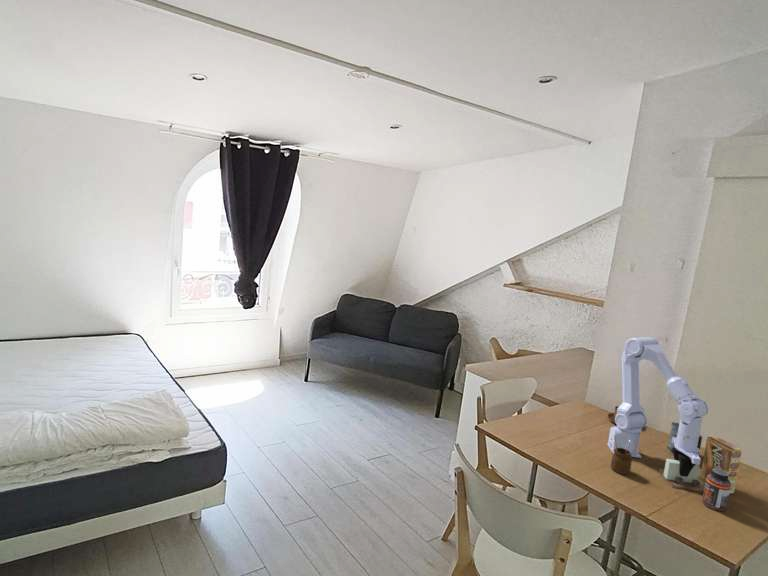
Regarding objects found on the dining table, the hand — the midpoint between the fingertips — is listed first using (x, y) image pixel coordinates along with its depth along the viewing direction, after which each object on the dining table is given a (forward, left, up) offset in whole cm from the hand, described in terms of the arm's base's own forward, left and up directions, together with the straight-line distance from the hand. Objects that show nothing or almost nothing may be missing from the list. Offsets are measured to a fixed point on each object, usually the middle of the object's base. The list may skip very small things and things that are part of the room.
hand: (681, 473), depth 144 cm
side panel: (+2, +1, -3) cm, 4 cm away
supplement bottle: (+4, -11, -3) cm, 13 cm away
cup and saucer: (-3, +45, -4) cm, 45 cm away
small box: (+10, +21, -3) cm, 24 cm away
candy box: (+11, +1, -3) cm, 12 cm away
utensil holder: (-18, +2, -3) cm, 18 cm away
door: (0, 0, -2) cm, 2 cm away
